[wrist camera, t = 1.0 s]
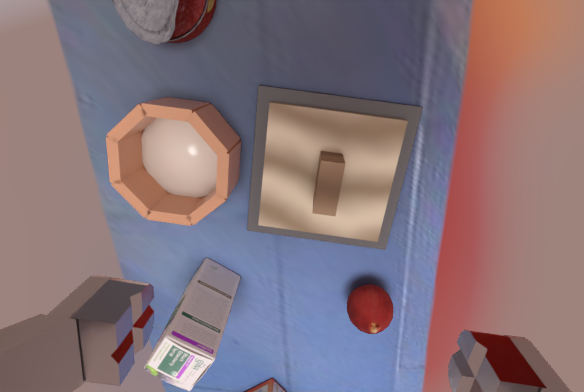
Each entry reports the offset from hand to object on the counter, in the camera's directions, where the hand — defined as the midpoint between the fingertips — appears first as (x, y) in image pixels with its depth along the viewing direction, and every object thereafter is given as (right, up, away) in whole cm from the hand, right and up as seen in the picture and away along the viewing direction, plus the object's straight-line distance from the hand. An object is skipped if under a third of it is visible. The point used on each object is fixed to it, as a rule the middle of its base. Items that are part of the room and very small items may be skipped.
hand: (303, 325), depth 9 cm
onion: (+10, -10, +38) cm, 40 cm away
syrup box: (-11, -8, +39) cm, 41 cm away
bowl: (-13, +9, +32) cm, 36 cm away
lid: (+4, +6, +31) cm, 32 cm away
